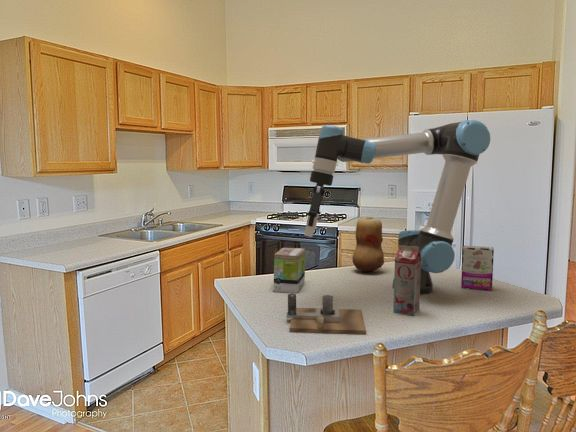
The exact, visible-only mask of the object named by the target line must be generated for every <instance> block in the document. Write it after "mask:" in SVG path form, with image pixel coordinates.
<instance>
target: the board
mask: <svg viewBox="0 0 576 432" xmlns="http://www.w3.org/2000/svg"><path fill="white" fill-rule="evenodd" d="M321 299H322V300H321V301H322V306H321V308H322V315H333V309H334V296H333V295H330V294H328V295H327V294H326V295H322V298H321ZM316 308H317V307H316ZM316 308H315V307H296V312H305V313H316ZM338 309H339V314H340V323H338V322H324V317H322V316H319V317H317V322H316V319H291V321H290V323H289V331H288V332H289V333H306V334H307V333H309V334H339V335H340V334H341V335H367V329H366V325H365V323H366V322H365V320H364V316H363V311H362V309H360V308H359V309H358V308H357V309H356V308H355V309H354V308H353V309H352V308H350V309H349V308H338Z"/></svg>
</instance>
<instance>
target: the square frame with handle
mask: <svg viewBox="0 0 576 432" xmlns="http://www.w3.org/2000/svg"><path fill="white" fill-rule="evenodd" d="M296 308H297V293H288V294H287V312H286V319H289V320H290V319H316V322H317V317H319V316H322V317H324V322H338V323H340V314H339V309H340V308H333V315H322V307H319V308H318V307H316V313H305V312H296Z"/></svg>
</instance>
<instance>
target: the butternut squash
mask: <svg viewBox="0 0 576 432" xmlns="http://www.w3.org/2000/svg"><path fill="white" fill-rule="evenodd" d="M383 240H384V238H383V223H382V221H381V220H380V219H379V217H376V216H363V217H360V218H359V219H358V220H357V222H356V226H355V241H356V243H355V244H356V245H355V249H354V251H353V253H352V263H353V265H354V267H355V268H356V269H357V270H359V271H361V272H364V273H373V272H375V271H377V270H379V269H382V266H383V265H384V264H385V256H384V250H383V248H382V244H383Z"/></svg>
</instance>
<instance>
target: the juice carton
mask: <svg viewBox="0 0 576 432" xmlns="http://www.w3.org/2000/svg"><path fill="white" fill-rule="evenodd" d="M393 275H394V277H393V280H394V288H393V310H392V311H393V313H394V314H400V315H406V316H411V317H414V316H415V315H417V314H418V313H419V312H420V304H421V303H420V301H421V294H420V277H421V254H420V253H419V247H414V246H403V245H399V246H398V247H397V251H396V253H395V256H394V274H393Z"/></svg>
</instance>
